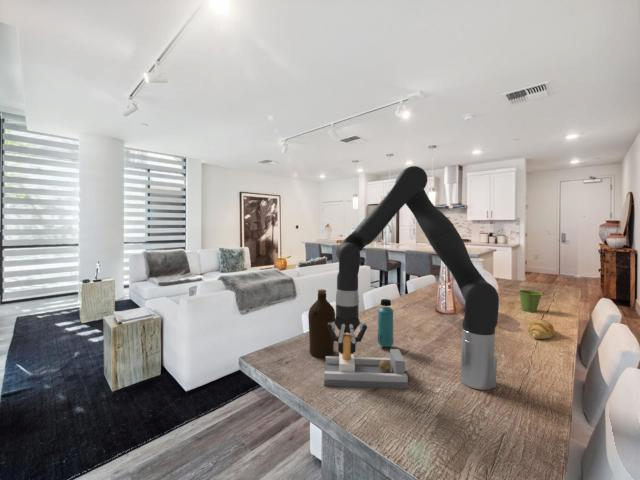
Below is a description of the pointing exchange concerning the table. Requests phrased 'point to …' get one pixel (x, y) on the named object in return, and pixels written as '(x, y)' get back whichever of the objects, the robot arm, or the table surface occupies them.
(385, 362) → the walnut
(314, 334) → the olive oil
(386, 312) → the beverage bottle
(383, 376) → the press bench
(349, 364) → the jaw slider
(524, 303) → the plant pot
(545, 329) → the croissant
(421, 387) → the table surface
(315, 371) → the table surface
